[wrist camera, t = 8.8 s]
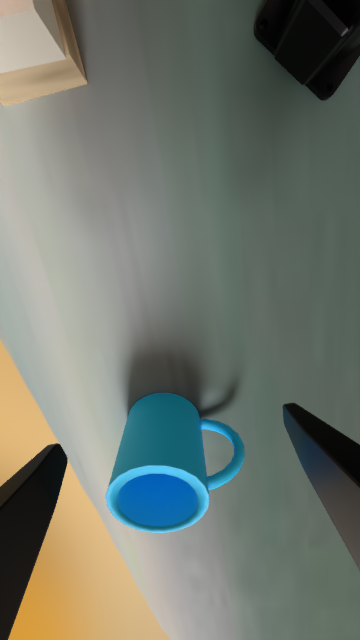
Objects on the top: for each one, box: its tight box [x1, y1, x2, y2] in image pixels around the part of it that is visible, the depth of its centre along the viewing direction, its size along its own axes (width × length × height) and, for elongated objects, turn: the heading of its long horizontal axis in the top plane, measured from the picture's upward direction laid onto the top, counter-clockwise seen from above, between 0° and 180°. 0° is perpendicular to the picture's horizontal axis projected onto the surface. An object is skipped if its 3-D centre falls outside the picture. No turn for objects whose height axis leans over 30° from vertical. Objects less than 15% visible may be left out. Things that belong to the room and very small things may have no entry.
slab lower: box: [0, 0, 88, 106], centre depth 13 cm, size 6×6×3 cm
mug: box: [106, 393, 245, 533], centre depth 22 cm, size 12×8×8 cm
